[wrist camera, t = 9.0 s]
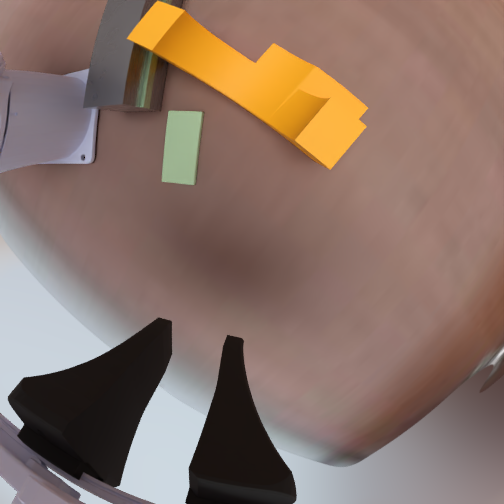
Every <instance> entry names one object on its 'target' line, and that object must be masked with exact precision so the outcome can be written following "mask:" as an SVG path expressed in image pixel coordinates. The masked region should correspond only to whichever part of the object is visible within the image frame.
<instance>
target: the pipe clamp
mask: <svg viewBox="0 0 504 504" xmlns="http://www.w3.org/2000/svg"><path fill="white" fill-rule="evenodd" d="M127 39H128V40H130V41H132V42H134V43H136V44H138V45H140V46H141V47H143V48H145V49H147V50H148V51H150V52H152V53H154V54H155V55H157V56H159V57H161V58H162V59H164V60H166V61H167V62H169V63H170V64H172V65H174V66H176V67H178V68H179V69H181V70H183V71H185V72H186V73H188V74H190V75H192V76H193V77H195V78H197V79H199V80H200V81H202V82H204V83H205V84H207V85H209V86H210V87H212V88H213V89H215V90H217V91H218V92H220V93H221V94H223V95H224V96H226V97H228V98H229V99H231V100H232V101H234V102H235V103H237V104H238V105H240V106H241V107H243V108H244V109H246V110H247V111H249V112H250V113H251V114H253V115H254V116H256V117H257V118H259V119H260V120H261V121H263V122H264V123H266V124H267V125H268V126H270V127H271V128H272V129H274V130H275V131H276V132H278V133H279V134H280V135H282V136H283V137H284V138H286V139H287V140H288V141H290V142H291V143H292V144H294V145H295V146H296V147H297V148H299V149H300V150H301V151H302V152H304V153H305V154H306V155H307V156H309V157H310V158H311V159H312V160H313V161H315V162H317V163H319V164H320V165H322V166H324V167H326V168H328V169H331V168H332V167H333V166H334V165H335V164H336V162H337V161H338V160H339V159H340V158H341V156H342V155H343V154H344V153H345V152H346V150H347V149H348V148H349V147H350V146H351V144H352V143H353V142H354V141H355V140H356V138H357V137H358V136H359V135H360V134H361V133H362V131H363V130H364V129H365V128H366V127H367V126H366V125H365V124H363V123H362V122H361V121H360V120H359V118H360V117H361V116H362V115H363V114H364V112H365V111H366V110H367V109H368V107H366V106H365V105H364V104H363V103H362V102H361V101H360V100H358V99H357V98H356V97H355V96H354V95H353V94H351V93H350V92H349V91H348V90H347V89H345V88H344V87H343V86H342V85H340V84H339V83H338V82H337V81H335V80H334V79H333V78H331V77H330V76H329V75H327V74H326V73H325V72H323V71H322V70H321V69H319V68H318V67H316V66H314V65H312V64H310V63H308V62H306V61H304V60H302V59H300V58H298V57H296V56H294V55H293V54H291V53H289V52H288V51H286V50H284V49H282V48H281V47H279V46H278V45H276V44H274V43H273V44H272V45H271V46H270V48H269V49H268V50H267V51H266V52H265V53H264V54H263V55H262V56H261V58H260V59H259V60H258V61H257V62H256V63H254V62H252V61H251V60H249V59H248V58H246V57H245V56H243V55H242V54H240V53H239V52H237V51H236V50H234V49H233V48H231V47H230V46H228V45H227V44H226V43H224V42H223V41H221V40H220V39H218V38H217V37H216V36H214V35H213V34H212V33H210V32H209V31H208V30H206V29H205V28H204V27H203V26H201V25H200V24H199V23H198V22H197V21H195V20H194V19H193V18H192V17H191V16H190V15H189V14H188V13H187V12H186V11H185V10H183V9H180V8H177V7H175V6H172V5H169V4H167V3H164V2H161V1H158V0H157V2H156V3H155V4H154V5H153V6H152V7H151V8H150V10H149V11H148V12H147V13H146V14H145V16H144V17H143V18H142V19H141V20H140V22H139V23H138V24H137V26H136V27H135V28H134V29H133V31H132V32H131V33H130V35H129V36H128V37H127Z"/></svg>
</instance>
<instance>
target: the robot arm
mask: <svg viewBox="0 0 504 504" xmlns="http://www.w3.org/2000/svg"><path fill="white" fill-rule="evenodd" d="M5 66H6V63H5V60H4V59H3V55H2V53H1V52H0V173H2V172H6V171H9V170H13V169H17V168H21V167H25V166H29V165H34V164H89V163H92V162H93V161H94V158H95V142H96V129H97V119H98V110H99V109H87V108H83V104H84V97H85V90H86V84H87V78H88V73H89V69H85V70H81V71H77V72H73V73H69V74H66V75H56V74H49V73H42V72H33V71H22V70H9V69H5ZM84 155H85V160H84ZM243 343H244V340H243V339H242V338H239V337H234V336H230V335H227V337H226V340H225V343H224V345H223V351H222V357H221V363H220V369H219V375H218V381H217V386H216V390H215V393H214V397H213V400H212V403H211V406H210V409H209V412H208V415H207V418H206V421H205V424H204V427H203V430H202V433H201V436H200V439H199V442H198V445H197V447H196V450H195V453H194V456H193V458H192V461H191V463H190V466H189V484H190V488H189V491H188V495H187V498H186V502H185V503H186V504H293V503H294V502H295V501H296V496H297V495H296V487H295V482H294V478H293V475H292V472H291V470H290V469H289V468H288V466H287V465H286V464H285V462H284V461H283V459H282V458H281V456H280V455H279V453H278V452H277V450H276V448H275V447H274V445H273V443H272V442H271V440H270V438H269V436H268V434H267V432H266V430H265V428H264V426H263V424H262V422H261V420H260V417H259V415H258V413H257V410H256V407H255V405H254V402H253V399H252V395H251V392H250V388H249V385H248V381H247V376H246V371H245V365H244V356H243ZM171 355H172V321H170V320H166V319H162V318H157V319H156V320H154V321H153V322H152V323H150V324H149V325H148V326H146V327H145V328H143V329H142V330H141V331H139V332H138V333H136V334H135V335H133V336H132V337H130V338H129V339H127V340H126V341H125V342H123V343H121V344H120V345H118V346H116V347H115V348H113V349H111V350H110V351H108V352H106V353H104V354H102V355H101V356H99V357H97V358H95V359H92V360H90V361H88V362H85V363H83V364H80V365H77V366H75V367H72V368H69V369H66V370H63V371H59V372H55V373H51V374H46V375H40V376H33V377H25V378H23V379H22V380H21V381H20V383H19V384H18V385H17V386H16V387H15V389H14V390H13V391H12V392H11V394H10V395H9V396H8V401H9V403H10V405H11V407H12V408H13V410H14V411H15V412H16V414H17V415H18V416H19V418H20V419H21V420H22V421H23V423H24V426H23V428H22V429H21V430H20V429H18V428H17V427H16V426H15V425H13V424H12V423H11V422H10V421H9V420H7V419H6V418H5V417H4V416H3V415H2V414H1V413H0V476H1V477H2V478H3V479H4V480H5V481H6V482H7V483H8V484H9V485H10V486H12V487H13V488H14V489H15V490H16V491H17V494H16V496H15V498H14V500H13V502H12V504H85V503H83V502H81V501H79V498H80V493H78V492H77V491H75V490H74V489H73V488H71V487H70V486H68V485H67V484H66V483H65V482H63V481H62V480H61V479H60V478H58V477H57V476H56V475H54V474H53V473H52V472H50V471H49V470H48V468H47V467H49V468H50V469H52V470H53V471H55V472H56V473H58V474H59V475H61V476H63V477H64V478H66V479H67V480H69V481H71V482H72V483H74V484H76V485H77V486H79V487H81V488H83V489H85V490H86V491H88V492H90V493H92V494H94V495H96V496H98V497H100V498H102V499H104V500H106V501H108V502H110V503H113V504H154V503H151V502H149V501H146V500H143V499H140V498H138V497H135V496H133V495H130V494H128V493H125V492H123V491H121V490H118V489H116V488H114V487H117V486H119V485H120V483H121V478H122V474H123V471H124V466H125V463H126V460H127V457H128V453H129V450H130V447H131V444H132V441H133V438H134V435H135V433H136V430H137V427H138V424H139V422H140V419H141V417H142V415H143V413H144V410H145V408H146V406H147V405H148V403H149V401H150V399H151V397H152V395H153V393H154V392H155V390H156V388H157V386H158V384H159V383H160V381H161V379H162V377H163V375H164V373H165V371H166V368H167V366H168V363H169V361H170V358H171Z"/></svg>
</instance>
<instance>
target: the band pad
mask: <svg viewBox="0 0 504 504" xmlns="http://www.w3.org/2000/svg"><path fill="white" fill-rule="evenodd" d="M203 116H204V112H196V111H169V112H168V120H167V128H166V137H165V147H164V158H163V170H162V182H170V183H180V184H188V185H195V184H196V176H197V166H198V156H199V147H200V139H201V131H202V123H203Z"/></svg>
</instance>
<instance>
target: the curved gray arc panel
mask: <svg viewBox="0 0 504 504" xmlns="http://www.w3.org/2000/svg"><path fill="white" fill-rule="evenodd" d="M158 1H161V2H164V3H167V4H169V5H172V6H175V7H177V8H180V9H181V6H182V2H183V0H158ZM156 2H157V0H108V2H107V5H106V8H105V11H104V14H103V17H102V20H101V23H100V27H99V30H98V34H97V38H96V41H95V45H94V49H93V54H92V58H91V63H90V68H89V73H88V78H87V84H86V90H85V97H84V104H83V108H87V109H100V110H110V111H120V112H143V111H161V105H162V98H163V91H164V85H165V79H166V73H167V68H168V62H167V61H166V60H164V59H162V58H161V57H159V56H157V55H155V54H154V53H152V52H150V51H148V50H147V49H145V48H143V47H141V46H140V45H138V44H136V43H134V42H132V41H130V40H128V39H127V37H128V36H129V35H130V33H131V32H132V31H133V29H134V28H135V27H136V26H137V24H138V23H139V22H140V20H141V19H142V18H143V17H144V16H145V14H146V13H147V12H148V11H149V10H150V8H151V7H152V6H153V5H154V4H155V3H156Z"/></svg>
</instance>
